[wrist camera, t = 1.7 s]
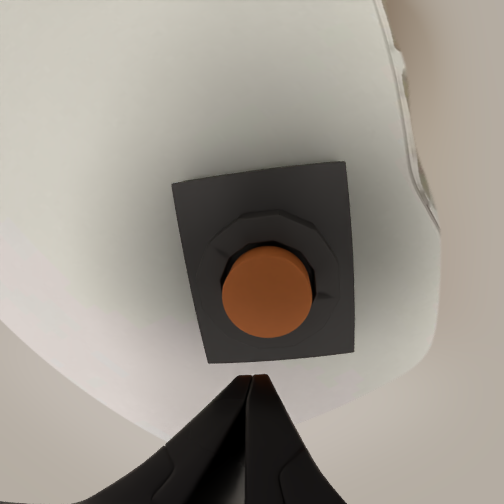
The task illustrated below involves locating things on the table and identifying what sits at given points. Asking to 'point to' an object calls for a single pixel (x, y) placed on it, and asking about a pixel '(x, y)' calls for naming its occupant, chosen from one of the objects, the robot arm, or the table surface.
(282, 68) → the table surface
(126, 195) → the table surface
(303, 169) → the orange push button base
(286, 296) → the power button
